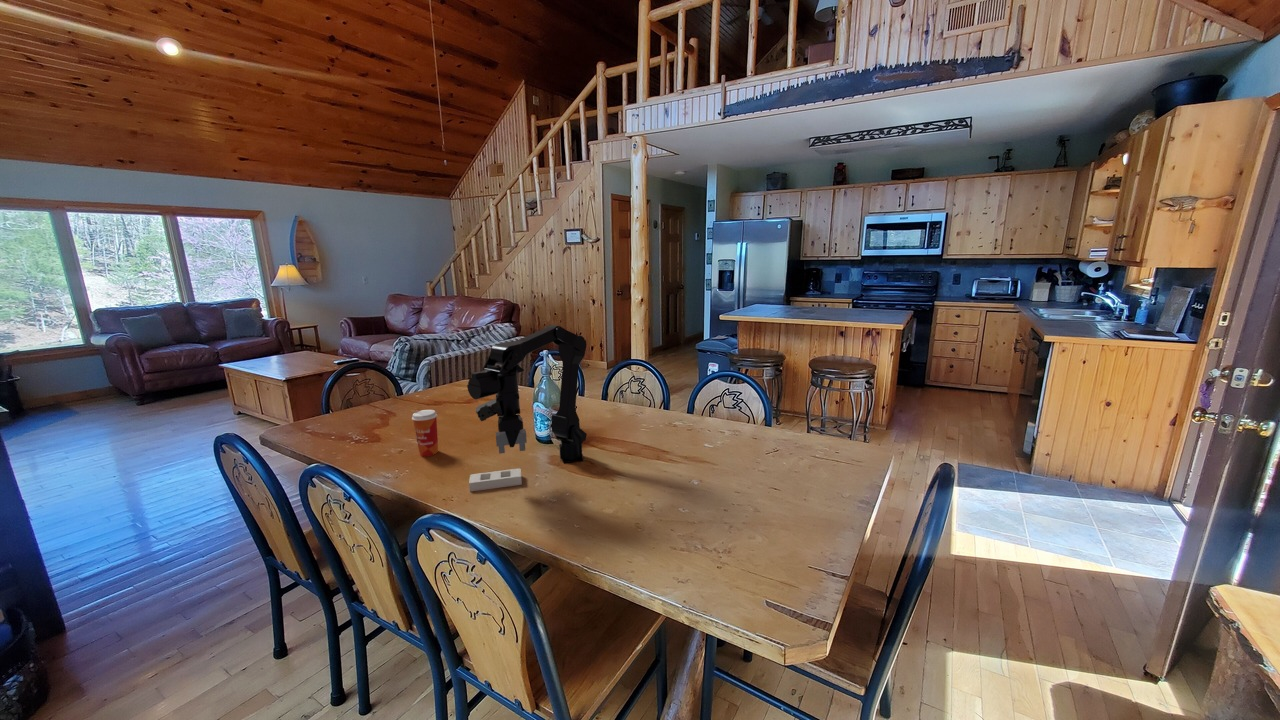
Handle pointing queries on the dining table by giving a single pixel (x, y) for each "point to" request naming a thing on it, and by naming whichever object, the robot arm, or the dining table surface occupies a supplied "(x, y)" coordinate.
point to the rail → (495, 479)
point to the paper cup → (426, 432)
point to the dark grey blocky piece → (502, 440)
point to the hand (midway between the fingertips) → (511, 444)
